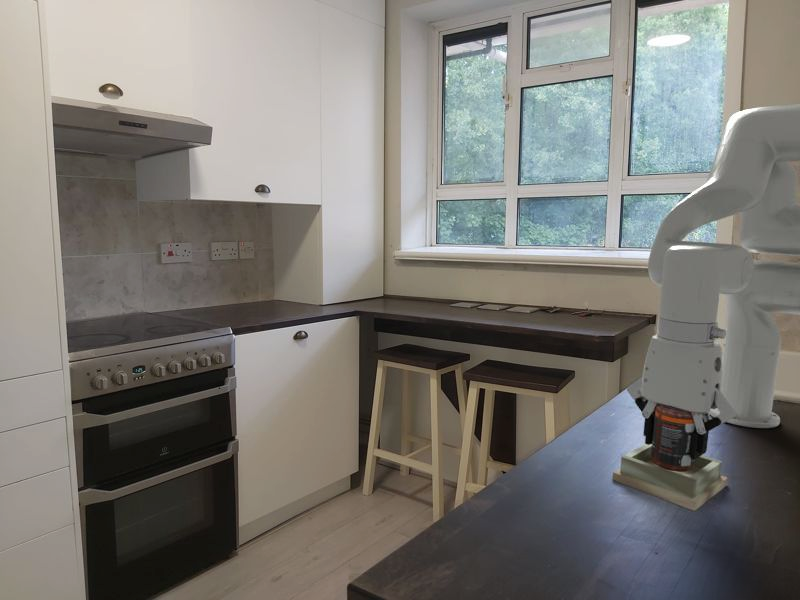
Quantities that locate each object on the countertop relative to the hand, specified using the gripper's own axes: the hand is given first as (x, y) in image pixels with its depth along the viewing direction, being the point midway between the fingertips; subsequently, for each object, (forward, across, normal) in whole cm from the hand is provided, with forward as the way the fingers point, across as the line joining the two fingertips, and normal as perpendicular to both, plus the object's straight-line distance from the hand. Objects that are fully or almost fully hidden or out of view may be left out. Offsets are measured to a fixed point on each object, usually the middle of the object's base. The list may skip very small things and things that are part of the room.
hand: (673, 448), depth 87 cm
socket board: (+5, 0, 0) cm, 5 cm away
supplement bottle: (+3, 0, 0) cm, 3 cm away
